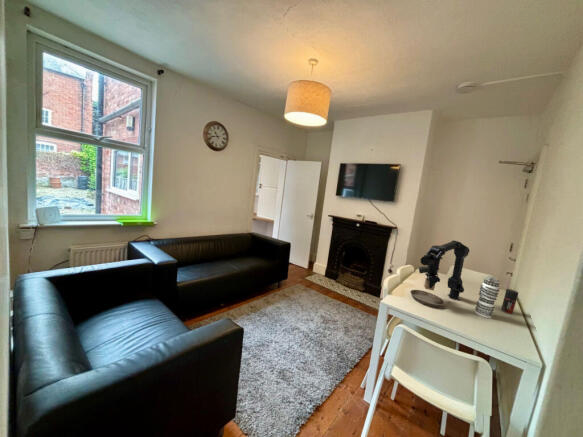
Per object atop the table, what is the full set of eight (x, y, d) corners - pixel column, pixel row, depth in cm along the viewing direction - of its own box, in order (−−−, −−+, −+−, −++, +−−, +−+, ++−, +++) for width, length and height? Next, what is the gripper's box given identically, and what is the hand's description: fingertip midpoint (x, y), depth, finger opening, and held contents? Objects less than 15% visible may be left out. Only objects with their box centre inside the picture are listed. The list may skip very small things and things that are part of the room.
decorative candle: (496, 318, 144) (506, 281, 140) (484, 318, 142) (494, 280, 139) (482, 310, 153) (491, 275, 149) (470, 310, 151) (479, 274, 148)
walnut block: (424, 286, 159) (425, 277, 158) (432, 287, 158) (434, 279, 157) (425, 288, 155) (427, 280, 154) (433, 290, 153) (435, 282, 152)
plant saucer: (433, 296, 167) (434, 292, 166) (450, 311, 146) (451, 306, 146) (404, 291, 168) (405, 287, 168) (417, 305, 148) (418, 301, 148)
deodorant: (509, 310, 158) (515, 290, 156) (514, 314, 153) (520, 293, 151) (499, 308, 160) (504, 288, 158) (503, 312, 155) (509, 291, 152)
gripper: (418, 258, 165) (414, 279, 167) (422, 265, 148) (418, 288, 150) (436, 262, 161) (431, 283, 163) (442, 270, 144) (437, 293, 146)
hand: (429, 286), depth 156 cm, fingers closed on walnut block, 5 cm apart
